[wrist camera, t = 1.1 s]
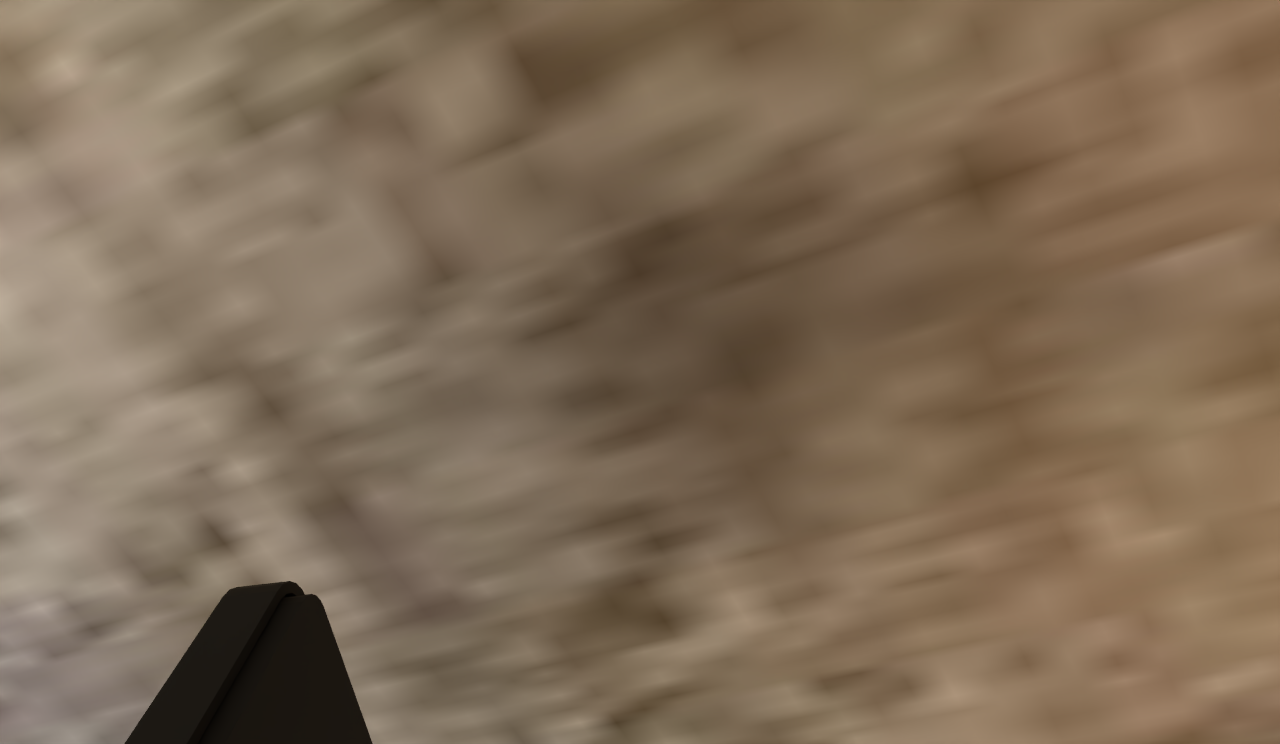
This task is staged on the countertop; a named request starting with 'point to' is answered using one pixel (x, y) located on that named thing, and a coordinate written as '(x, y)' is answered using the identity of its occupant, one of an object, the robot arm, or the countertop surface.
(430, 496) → the countertop surface
